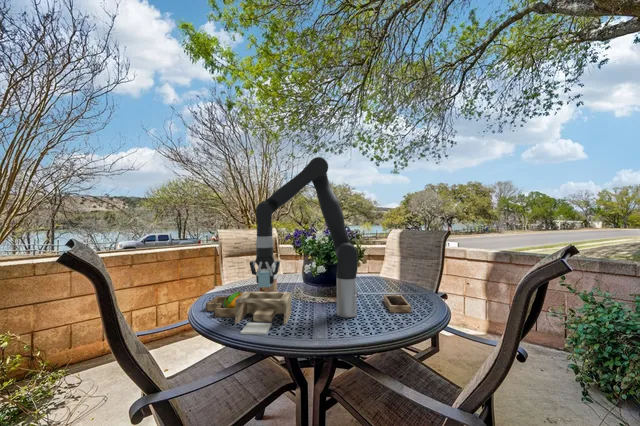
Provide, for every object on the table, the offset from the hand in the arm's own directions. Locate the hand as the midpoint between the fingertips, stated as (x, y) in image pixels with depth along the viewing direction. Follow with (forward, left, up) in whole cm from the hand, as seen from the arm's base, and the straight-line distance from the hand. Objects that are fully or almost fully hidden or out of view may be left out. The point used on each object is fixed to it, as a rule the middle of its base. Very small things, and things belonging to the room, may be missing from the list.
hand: (265, 283), depth 129 cm
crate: (0, 0, -15) cm, 15 cm away
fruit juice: (+5, -28, -16) cm, 33 cm away
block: (0, 0, -1) cm, 1 cm away
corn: (+19, -15, -16) cm, 29 cm away
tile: (0, +13, -15) cm, 20 cm away
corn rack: (+17, -15, -15) cm, 28 cm away
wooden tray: (-63, -21, -15) cm, 68 cm away
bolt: (-62, -20, -16) cm, 68 cm away
